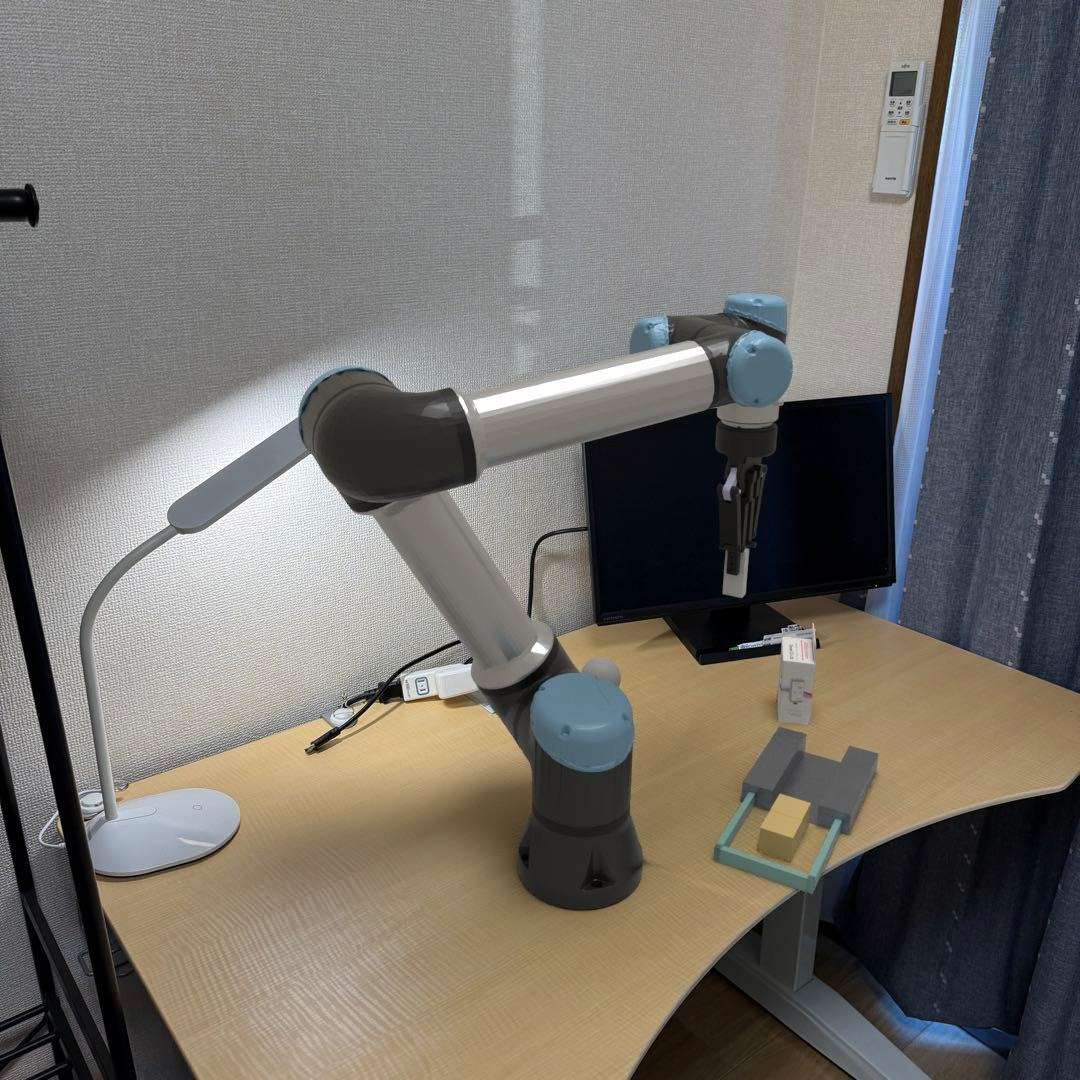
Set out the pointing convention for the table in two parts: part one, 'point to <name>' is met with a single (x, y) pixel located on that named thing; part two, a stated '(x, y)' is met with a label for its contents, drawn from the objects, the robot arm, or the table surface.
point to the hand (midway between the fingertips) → (734, 593)
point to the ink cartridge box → (796, 679)
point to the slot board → (811, 779)
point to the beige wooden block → (793, 809)
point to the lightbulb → (603, 669)
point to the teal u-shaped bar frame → (766, 867)
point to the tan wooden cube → (780, 835)
